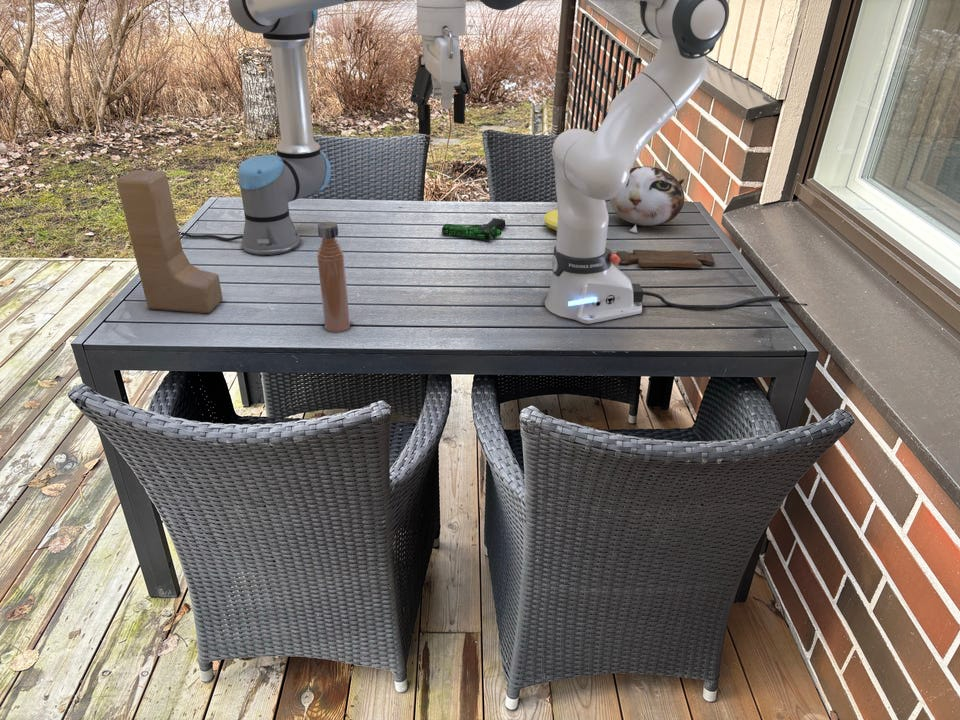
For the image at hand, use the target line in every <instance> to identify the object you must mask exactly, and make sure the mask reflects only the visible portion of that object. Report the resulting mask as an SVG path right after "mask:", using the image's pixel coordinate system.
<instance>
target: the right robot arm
mask: <svg viewBox="0 0 960 720" xmlns="http://www.w3.org/2000/svg"><path fill="white" fill-rule="evenodd" d="M467 1H468V0H416V24H417V25H416V26H417V29H416V30H417V34H418V35H420V36H421V42H422V50H423V51H422V52H423V54H422V55H424V61H425V66H426V69H427V70H428V71H429V72H430V73H431V78H432V84H433V91H432V96H433V97H434V99H435V100H440V106H441V107H442V109H444V110H449V109H450V110H451V109H452V107H453V97H454V91H455V89H454V86H459V85H460V81H461V65H460V49H461V48H460V36H461V37H462V36H464V35H466V33H467V32H466V25H467V23H466V21H467V20H466V18H467V17H466V14H467V12H466V8H467V7H466V6H467V5H466V3H467ZM476 1H477V2H479V3H482V4H483V5H485V6H486V7H487V8H490V9H492V10H495V11H507V10H511V9H514V8H515V7H517V6H519V5H521V4H523V3H524V2H526V1H527V0H476ZM599 1H601V2H610V3H611V2H613V3H614V2H615V3H621V2H639V16H640V22H641V24H642V26H643V28H644V29H645V31H646V33H648V34H649V35H650V36H651V37H653V38H655V39H657V40H661V41H660V45H659V47H658V50H657V52H656V53H655V56H654V57H653V59H652V61H650V62H649V63H648V64H647V65H646V66H645V67H644V68H643V69H642V70H641V71H639V73H637V75H636V76H635V77H633V79H632V80H631V81H629V83H628V84H627V85H626V86H625V87H624V88H623V89H622V90H621V91H620V92H619V93H618V94H617V95H616V96H615V97H614V98H613V99H612V101H611V102H610V105H609V109H608V112H607V114H606V116H605V118H604V119H603V121H602V123H601V124H600V126H598V129H597V130H596V131H595V132H593V131H591V130H588V129H584V128H583V129H582V128H570V129H566V130H564V131H562V132H561V133H559V135H558V136H557V137H556V139H555V140H554V142H553V144H552V149H551V158H552V161H553V167H554V181H555V182H554V183H555V193H556V194H555V195H556V203H557V209H558V223H557V231H556V238H555V245H554V246H553V253H552V261H551V269H552V270H551V271H552V277H551V281H550V286H549V290H548V293H547V296H546V298H545V300H544V306H545V308H546V309H547V310H548V311H549V312H550V313H552V314H554V315H556V316H558V317H562V318H565V319H571V320H575V321H577V322H580V323H582V324H584V325H585V324H586V325H591V324H596V323H601V322H606V321H611V320H615V319H620V318H625V317H631V316H635V315H640V314H642V312H643V304H642V303H643V300H644V296H649V297H654V298H657V299H659V300H660V301H661V302H662V304H664V305H666V306H669V307H672V308H679V309H691V310H692V309H695V310H722V309H729V308H734V307H738V306H741V305H744V304H748V303H754V302H759V301H766V300H790V299H789V296H790V295H764V296H759V297H753V298H752V297H751V298H747V299H743V300H740V301H736V302H733V303H728V304H720V305H719V304H718V305H700V304H699V305H696V304H678V303H673V302H670V301H667V300H666V299H665V298H664V297H663V296H662V295H660V294H658V293H655V292H651V291H645V290H643V288H642V285H641V284H640V283H632V282H631V280H630V278H629V277H628V275H626V274H625V273H624V272H622V271H621V270H620V269H619V268H618V267H616V266H617V265H618V264H619V262H620V258H619V257H618V256H617V254H616V253H613V251H612V250H611V249H609V248H608V247H607V238H608V229H609V219H610V215H609V211H608V208H607V204H606V201H610V200H609V199H612V198H614V197H616V196H618V195H619V194H620V193H621V192H622V191H623V190H624V188H625V187H626V185H627V183H628V179H629V173H630V170H631V168H633V166H634V164H635V162H636V160H637V159H638V157H639V156H640V154H641V153H642V151H643V150H644V148H645V146H647V144H648V143H649V141H650V140H651V139H652V138H653V137H654V136H655V135H656V134H657V133H658V132H659V130H660V129H662V128H663V127H664V126H665V125H666V124H667V122H669V120H671V118H673V116H675V115H676V114H677V113H678V112H679V111H680V110H681V109H682V108H683V106H685V104H686V103H687V102H688V101H689V100H690V99H691V98H692V96H693V95H694V94H695V93H696V92H697V89H699V87H700V86H701V85H702V83H703V81H704V80H705V78H706V77H707V75H708V72H709V64H708V63H709V62H708V60H707V57H706V56H707V55H708V54H710V53H711V52H712V51H714V48H715V46H716V43H717V42H718V41H719V40H720V38H721V37H722V35H723V33H724V32H725V29H726V28H727V25H728V22H729V18H730V17H729V16H730V6H729V2H728V0H599ZM458 39H459V40H458Z"/></svg>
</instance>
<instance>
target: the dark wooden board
mask: <svg viewBox="0 0 960 720" xmlns="http://www.w3.org/2000/svg"><path fill="white" fill-rule="evenodd" d="M615 254H617V256H618V257H619V258H620V262H619V263H618V264H620V265H631V264H634V263H637V264H638V267H640V268H654V267H657V268H659V267H660V268H661V267H662V268H663V267H667V268H687V269H688V268H689V269H700V268H702V267H703V265H707V266H714V264H715V260H714V257H713V255H712V253H710V252H709V253H708V252H707V253H701V254H694V250H657V249H655V250H654V249H653V250H652V249H632V252H628V251H626V250H617V251H616V252H615Z"/></svg>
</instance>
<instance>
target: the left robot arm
mask: <svg viewBox="0 0 960 720" xmlns="http://www.w3.org/2000/svg"><path fill="white" fill-rule="evenodd" d="M357 1H359V0H228V9H229V12H230V15H231V17H232V19H233V20H234V22H235V23H236V24H237V25H238V26H239V28H242V29H243V30H244V31H246V32H249V33H252V34H262V38H263V40H264V41H265V42H266V43H267V44H268V46H269V47H270V55H271V63H272V72H273V80H274V89H275V96H276V97H275V98H276V106H277V114H278V115H277V116H278V123H279V132H280V139H281V140H280V142H279V143H278V145H277V146H276V154H262V155H254V156H253V157H250V158H247V159H245V160H244V161H242V162H241V163H240V164H239V166H238V168H237V174H238V185H239V190H240V194H241V195H240V196H241V201H242V208H243V212H244V213H243V215H244V219H245V220H244V226H243V228H244V229H243V234H242V235H237V236H233V237H223V236H219V235H215V234H190V233H186V232H183V231H179V236H184V237H188V238H191V239H193V238H194V239H204V238H205V239H206V238H207V239H209V238H210V239H211V238H212V239H217V240H221V241H225V242H229V241H235V240H241V246H242V249H243V251H244V252H246V253H248V254H252V255H255V256H256V255H257V256H275V255H281V254H282V255H283V254H285V253H289V252H291V251H293V250H296V249H297V248H298V247H299V246H300V244H301V241H300V235H299V233H298V231H297V229H296V227H295V225H294V223H293V220H292V218H291V216H290V207H289V203H291V202H293V201H296V200H299V199H302V198H305V197H309V196H312V195H315V194H317V193H318V192H321V191H323V190H324V189H325V188H326V187H328V185H329V183H330V180H331V175H332V166H331V163H330V160H329V158H327V157H328V156H327V155H326V153H325V152H324V151H323V150H321V145H320V144H319V143H318V142H316V141H315V139H314V128H313V118H312V117H313V116H312V105H311V96H310V95H311V94H310V85H309V74H308V64H307V63H308V62H307V51H306V45H307V43H308V42H309V41H310V40H311V28H313V26H315V24H316V21H317V20H318V16H319V10H322V9H325V8H330V7H334V6H338V5H343V4H347V3H351V2H352V3H353V2H357ZM458 40H459V41H460V38H459V39H458ZM464 53H465V52H464V49H461V48H460V65H461V81H460V85H459V86H454V91H455V93H453V123H454V124H460V125H465V124H466V95H470V94H471V90H472V84H471V80H470V76H469V72H468V69H467V66H466V61H465V55H464ZM417 61H418V63H417V70H416V73H415V78H414V82H413V86H412V90H411V94H410V102H411V103H413V104H415V105H416V106H417V107H416V108H417V119H418V134H419V135H425V136H431V135H432V130H431V128H432V127H431V104H429V100H430V99H431V98H430V97H431V95H432V94H433V84H432V78H431V73H430V72H429V71H428V70H427V69H426V66H425V61H424V54H419V55H418V59H417ZM181 232H182V233H181ZM180 233H181V234H180Z"/></svg>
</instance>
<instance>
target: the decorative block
mask: <svg viewBox="0 0 960 720" xmlns="http://www.w3.org/2000/svg"><path fill="white" fill-rule="evenodd" d="M116 185H117V190H118V194H119V198H120V202H121V205H122V211H123V213H124V218H125V222H126V225H127V229H128V234H129V237H130V243H131V246H132V250H133V254H134V258H135V261H136V262H135V263H136V266H137V270H138V273H139V274H138V275H139V278H140V282H141V285H142V290H143V294H144V299H145V302H146V307H147V308H148V309H150V310H162V311H163V310H164V311H177V312H187V313H188V312H190V313H200V314H201V313H202V314H209V313H211V312H212V311H213V310H214V309H215V308H216V307H217V306H218V305H219V304H221V302H222V301H223V298H224V297H223V292H222V287H221V282H220V277H219V274H218V273H216V272H211V271H208V270H207V271H206V270H202V269H199V268H198V267H196V266H195V265H193V264H191V262H190V261H189V258H188V256H187V255H186V254H185V252H184V250H183V246H182V241H181V235H179V232H180V231H179V227H178V222H177V217H176V213H175V208H174V203H173V198H172V194H171V189H170V185H169V180H168V175H167V173H166V171H159V170H143V169H135V170H132V171H130V172H128V173H127V174H125V175H122V176H121V177H119V178H116Z"/></svg>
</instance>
